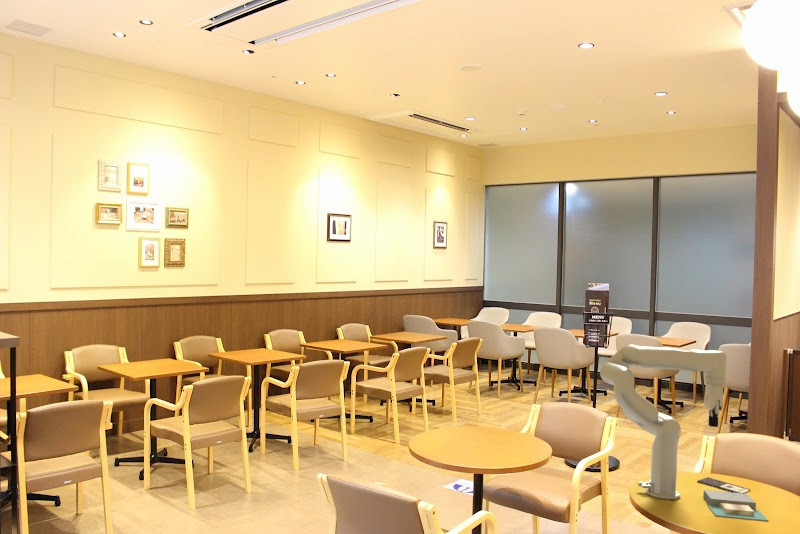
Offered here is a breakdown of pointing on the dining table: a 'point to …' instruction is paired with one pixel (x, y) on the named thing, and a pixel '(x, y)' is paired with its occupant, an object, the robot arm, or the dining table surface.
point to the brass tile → (736, 509)
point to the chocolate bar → (723, 485)
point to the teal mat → (720, 513)
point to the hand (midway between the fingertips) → (713, 426)
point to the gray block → (728, 498)
